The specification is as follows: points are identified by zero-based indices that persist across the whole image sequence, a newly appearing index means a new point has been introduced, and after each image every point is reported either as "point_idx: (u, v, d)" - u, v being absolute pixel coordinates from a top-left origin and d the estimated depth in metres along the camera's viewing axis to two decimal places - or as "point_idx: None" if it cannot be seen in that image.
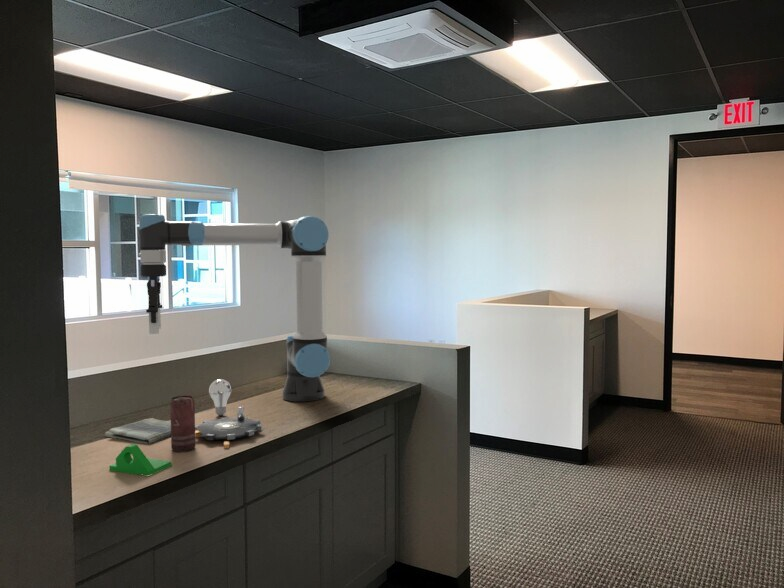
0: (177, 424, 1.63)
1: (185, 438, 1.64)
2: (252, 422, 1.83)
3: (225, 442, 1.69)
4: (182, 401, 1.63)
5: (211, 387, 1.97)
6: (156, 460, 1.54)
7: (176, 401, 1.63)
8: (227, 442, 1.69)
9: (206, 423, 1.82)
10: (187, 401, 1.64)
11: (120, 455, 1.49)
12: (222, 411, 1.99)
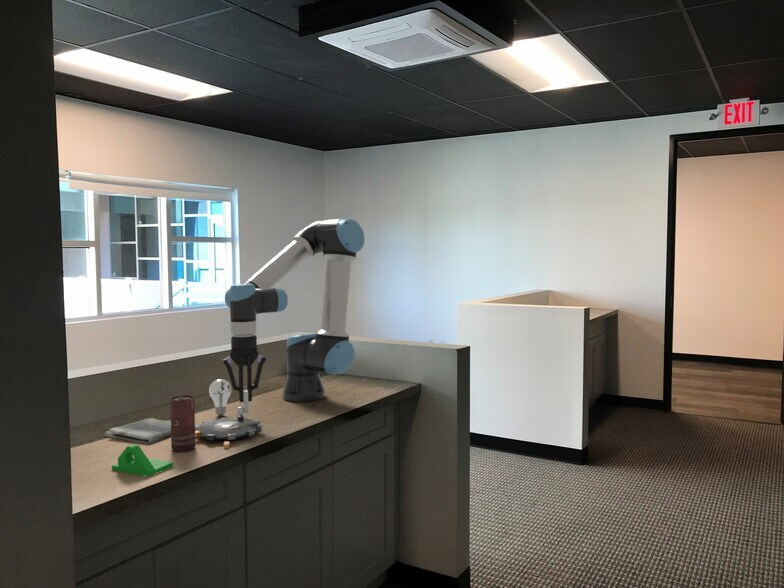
0: (177, 424, 1.63)
1: (185, 438, 1.64)
2: (252, 422, 1.83)
3: (225, 442, 1.69)
4: (182, 401, 1.63)
5: (211, 387, 1.97)
6: (158, 461, 1.54)
7: (176, 401, 1.63)
8: (227, 442, 1.69)
9: (206, 423, 1.82)
10: (187, 401, 1.64)
11: (121, 455, 1.49)
12: (222, 411, 1.99)
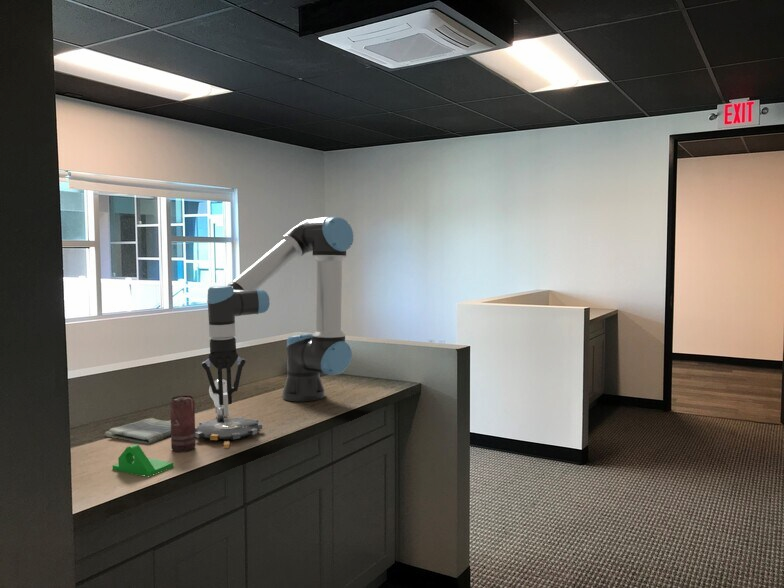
0: (177, 424, 1.63)
1: (185, 438, 1.64)
2: (241, 419, 1.86)
3: (225, 442, 1.69)
4: (182, 401, 1.63)
5: None
6: (159, 461, 1.53)
7: (176, 401, 1.63)
8: (227, 442, 1.69)
9: (201, 428, 1.76)
10: (187, 401, 1.64)
11: (122, 455, 1.49)
12: None
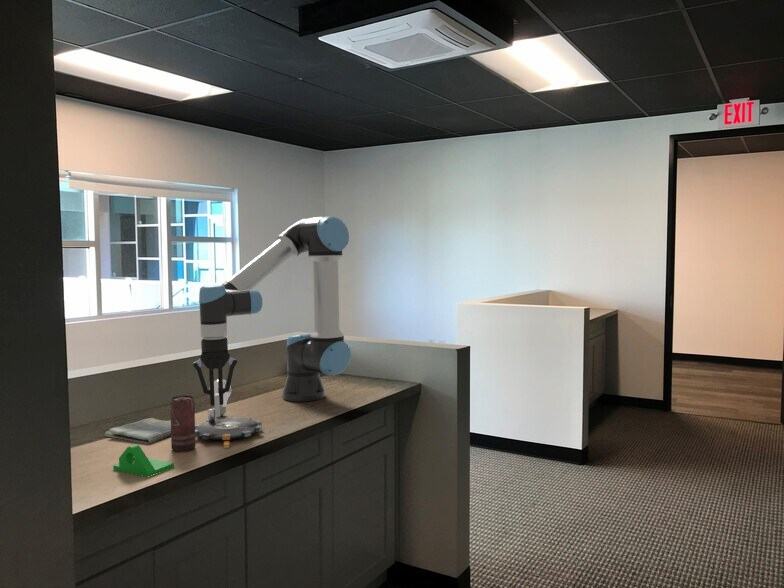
0: (177, 424, 1.63)
1: (185, 438, 1.64)
2: (233, 419, 1.87)
3: (225, 442, 1.69)
4: (182, 401, 1.63)
5: None
6: (159, 461, 1.53)
7: (176, 401, 1.63)
8: (227, 442, 1.69)
9: (203, 431, 1.74)
10: (187, 401, 1.64)
11: (122, 455, 1.49)
12: (222, 411, 1.99)
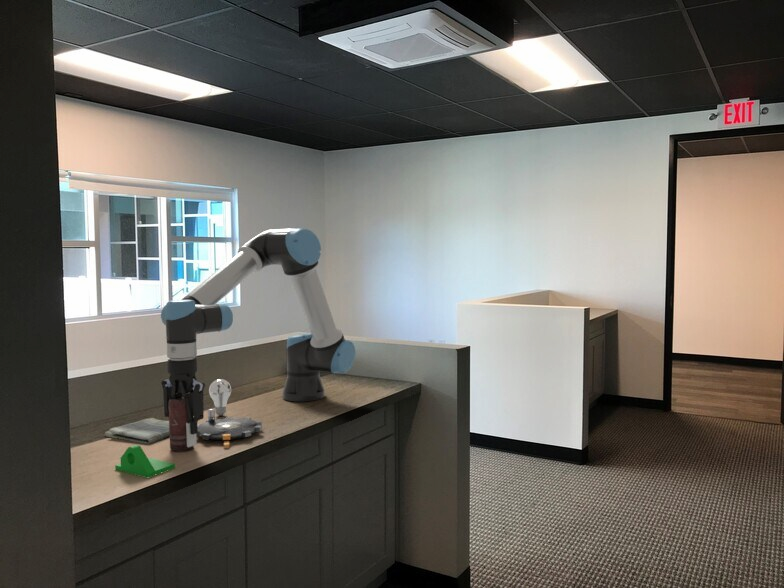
0: (176, 423, 1.63)
1: (184, 437, 1.64)
2: (232, 419, 1.87)
3: (225, 442, 1.69)
4: (180, 401, 1.63)
5: (211, 387, 1.97)
6: (161, 462, 1.53)
7: (174, 401, 1.63)
8: (227, 442, 1.69)
9: (203, 431, 1.74)
10: None
11: (123, 455, 1.49)
12: (222, 411, 1.99)
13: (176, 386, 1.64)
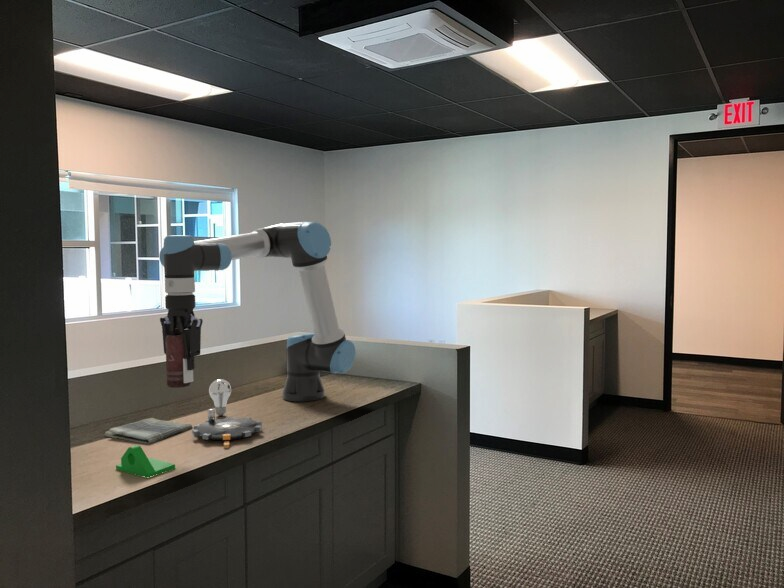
0: (172, 359, 1.63)
1: (180, 373, 1.63)
2: (232, 419, 1.87)
3: (225, 442, 1.69)
4: (177, 336, 1.62)
5: (211, 387, 1.97)
6: (161, 462, 1.53)
7: (171, 336, 1.62)
8: (227, 442, 1.69)
9: (203, 431, 1.74)
10: None
11: (124, 455, 1.49)
12: (222, 411, 1.99)
13: (174, 322, 1.63)
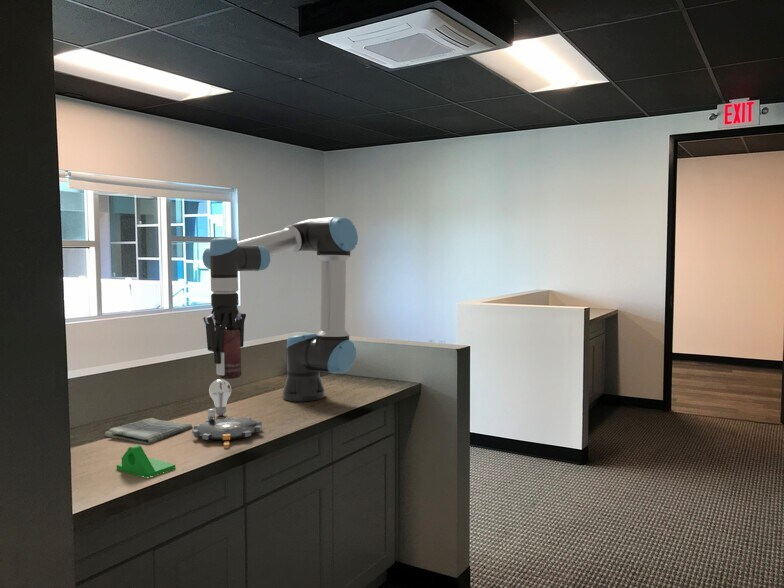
0: None
1: None
2: (232, 419, 1.87)
3: (225, 442, 1.69)
4: None
5: (211, 387, 1.97)
6: (162, 462, 1.53)
7: None
8: (227, 442, 1.69)
9: (203, 431, 1.74)
10: None
11: (124, 455, 1.49)
12: (222, 411, 1.99)
13: None
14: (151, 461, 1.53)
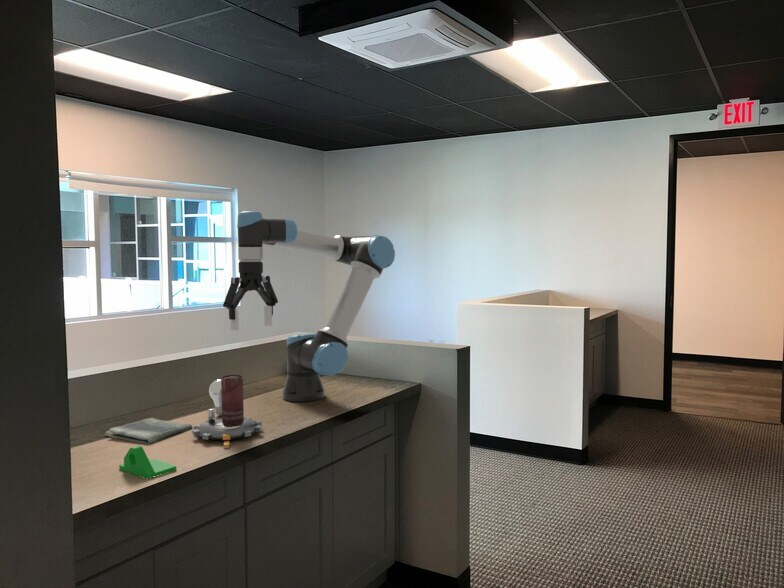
0: None
1: (222, 412, 1.80)
2: None
3: (225, 442, 1.69)
4: (222, 378, 1.80)
5: (211, 387, 1.97)
6: (164, 463, 1.52)
7: None
8: (227, 442, 1.69)
9: (203, 431, 1.74)
10: (222, 379, 1.78)
11: (126, 455, 1.49)
12: None
13: None
14: (154, 462, 1.53)
